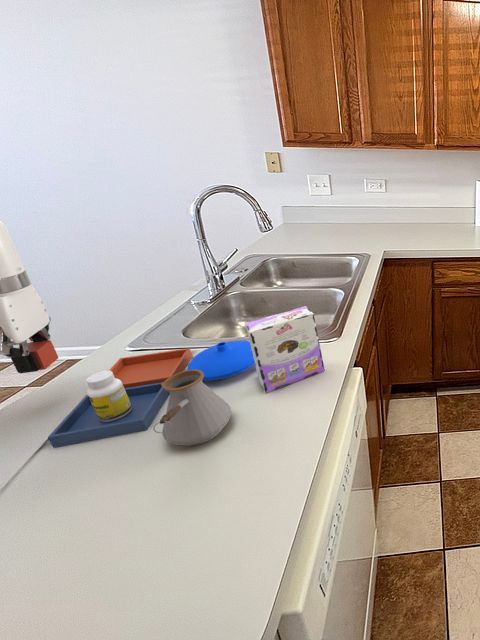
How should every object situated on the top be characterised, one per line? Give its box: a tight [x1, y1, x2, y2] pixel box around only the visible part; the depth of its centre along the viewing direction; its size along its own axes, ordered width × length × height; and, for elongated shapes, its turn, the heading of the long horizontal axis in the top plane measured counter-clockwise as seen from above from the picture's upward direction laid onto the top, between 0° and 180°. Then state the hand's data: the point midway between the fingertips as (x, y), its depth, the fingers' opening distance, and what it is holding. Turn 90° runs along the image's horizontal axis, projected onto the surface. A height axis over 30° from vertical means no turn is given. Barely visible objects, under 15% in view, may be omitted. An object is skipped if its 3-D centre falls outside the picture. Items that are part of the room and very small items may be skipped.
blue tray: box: [47, 382, 170, 449], centre depth 84 cm, size 15×13×3 cm
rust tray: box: [109, 347, 193, 389], centre depth 97 cm, size 15×13×3 cm
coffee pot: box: [153, 369, 232, 447], centre depth 73 cm, size 21×12×15 cm, turn 25°
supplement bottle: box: [85, 369, 132, 422], centre depth 82 cm, size 5×5×10 cm
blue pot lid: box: [187, 340, 255, 381], centre depth 99 cm, size 16×16×7 cm
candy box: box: [244, 305, 325, 394], centre depth 94 cm, size 14×6×16 cm, turn 130°
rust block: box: [10, 339, 59, 373], centre depth 82 cm, size 4×4×4 cm
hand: (38, 363), depth 82 cm, fingers closed on rust block, 4 cm apart
